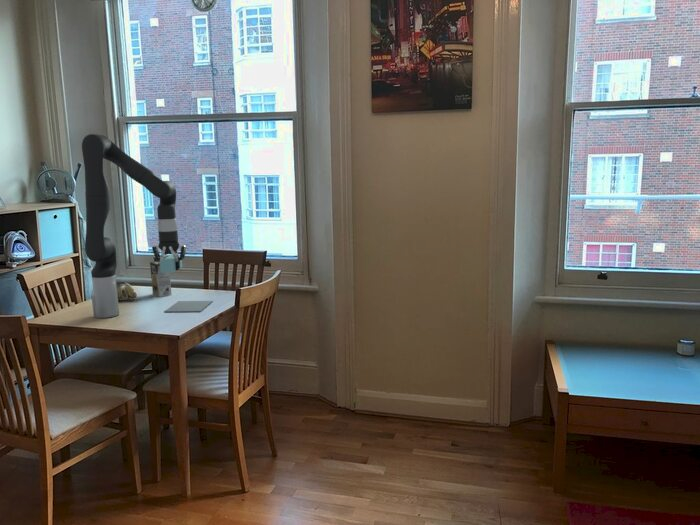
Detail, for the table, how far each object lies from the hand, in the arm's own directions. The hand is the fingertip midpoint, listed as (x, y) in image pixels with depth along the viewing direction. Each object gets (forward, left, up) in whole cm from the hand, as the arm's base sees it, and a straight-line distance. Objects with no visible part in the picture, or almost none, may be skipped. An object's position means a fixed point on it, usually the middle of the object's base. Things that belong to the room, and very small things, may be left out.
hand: (170, 270), depth 230 cm
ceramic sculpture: (-34, +29, -20) cm, 49 cm away
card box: (0, +7, +2) cm, 7 cm away
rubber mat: (+2, +13, -19) cm, 23 cm away
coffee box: (-20, +38, -20) cm, 47 cm away
